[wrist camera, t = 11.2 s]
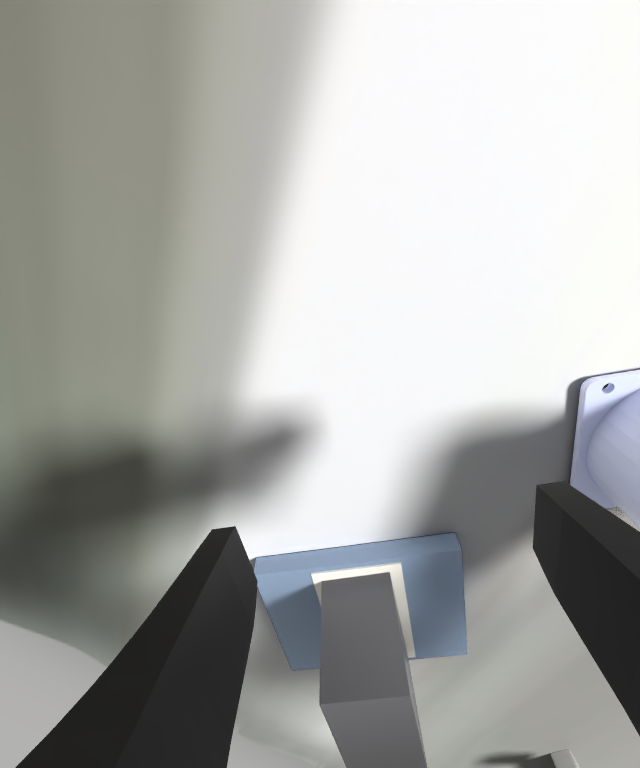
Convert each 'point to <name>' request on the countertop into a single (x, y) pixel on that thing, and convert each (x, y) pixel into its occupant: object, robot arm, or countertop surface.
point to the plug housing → (367, 675)
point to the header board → (399, 557)
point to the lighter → (564, 759)
